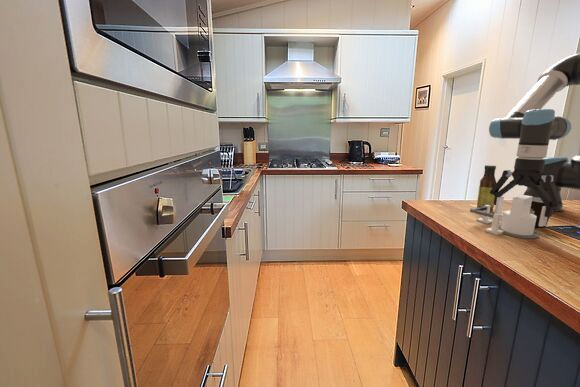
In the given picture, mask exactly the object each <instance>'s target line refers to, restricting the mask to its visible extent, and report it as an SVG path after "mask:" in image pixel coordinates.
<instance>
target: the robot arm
mask: <svg viewBox="0 0 580 387" xmlns="http://www.w3.org/2000/svg"><path fill="white" fill-rule="evenodd" d="M578 85H580V52H579V53H576V54H572V55H570V56H567V57H565V58H563V59H561V60H560V61H558V62H556V63H554V64H553V65H551V66H550V67H549V68H547V69H546V70H545V71H544V72H543V73H542V74H541V75H540V76H539V77H538V78H537V83H536V84H534V85H533V87H532V88H531V89H530V90H529V91H528V92H527V93H526V94H525V96H523V97H522V99H520V100H519V102H518V103H517V104H516V105H515V106H514V107H513V108H512V109H511V110H510V112H508V114H506V115H505V116H504V117H498V118H495V119H493V120H491V122H490V124H489V126H488V132H489V136H490V137H492V138H494V139H505V140H506V139H513V140H514V139H516V140H518V145H517V151H516V157H517V158H516V159H515V161H514V166H513V169H514V170H513V171H511V170H510V169H506V170H503V171H502V174H501V176H500V178H499V179H498V180H497V181H496V184H495V186H494V187H493V188H492V189H491V191H490V194H493V195H494V196H495V199H494V207H495V209H494V213H493V214H500V215H502V213H503V205H504V198H505V196H504V195H505V194H506V193H508V192H510V190H511V189H514V188H515V186H517V185H518V186H520V187H522V186H524V187H526V190H525V191H524V192H523V194H522V195H527V196H533V197H536V198H541V200H542V201H543V203H544V204H545V205H546V206H543V207H542V211H541V216H540V221H539V225H538V226H540V227H542V226H546V227H547V225H546V223H547V224H548V222H547V218H548V217H549V218H551V217H552V215H553V212H560V211H562V210H563V206H564V205H563V200H562V194H561V192H562V191H561V190H562V188H565V189H573V190H577V191H578V190H579V191H580V140H578V141H579V142H578V148H577V149H578V150H577V153H576V154H575V155H574V156H572V157H571V160H569V158H568V157H567V156H564V157H563V156H558V157H557V156H556V157H547V155H548V148H549V143H550V141H555V140H560V139H562V138H564V137H566V136H568V135H569V133H570V132H571V129H572V123H571V121H570V120H569V119H568V118H566V117H562V116H555V114H556V111H555V109H552V108H544V107H545V105H546V104H547V103H548V102H550V100H551V99H552V98H553V97H554V95H556V94H557V93H558V92H561V91H563V90H564V89H565V88H566V87H570V86H578ZM511 177H512V178H513V179H511V181H509V183H507V184H506V185H505V183H506V182H507V181H508V179H509V178H511ZM504 185H505V186H504ZM503 186H504V187H503Z"/></svg>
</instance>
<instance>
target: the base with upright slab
mask: <svg viewBox="0 0 580 387" xmlns="http://www.w3.org/2000/svg"><path fill="white" fill-rule="evenodd" d="M532 198H533V196H527V195H523V194H521V195H518V196H514V197H512V200H511V206H510V210H504V211H502V215H501V217H502V218H501V221H500V225H501V227H500V228H501V229H502V230H503V231H506V232H509V233H513V234H518V235H533V232H534V231H535V229H536V228H535V223H536V218H537V216H535V215H533V214H530V208H531V203H532Z"/></svg>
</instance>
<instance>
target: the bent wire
mask: <svg viewBox="0 0 580 387" xmlns="http://www.w3.org/2000/svg"><path fill="white" fill-rule="evenodd" d="M482 210H487V207H479V208H477V207H474V208H470V209H469V212H470V213H472V214H473V213H474V214H477V215H481V216H482V215H484V216H487V217H489V218H492V219H493V216H494V213H486V212H483V211H482Z"/></svg>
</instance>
